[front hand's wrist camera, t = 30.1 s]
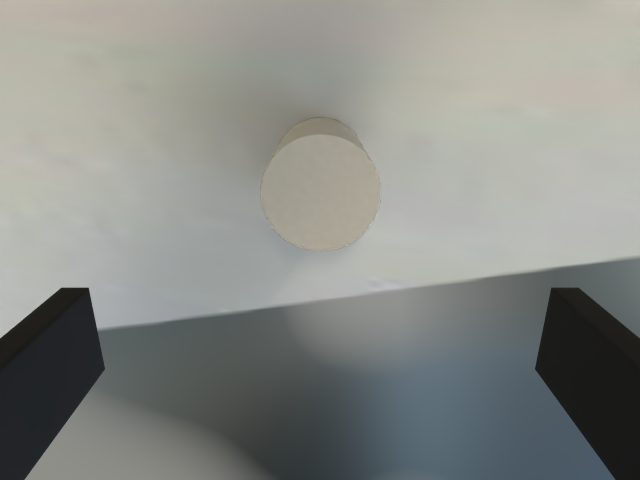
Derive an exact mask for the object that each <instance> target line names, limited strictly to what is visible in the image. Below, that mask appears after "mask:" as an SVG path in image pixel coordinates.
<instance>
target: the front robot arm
mask: <svg viewBox="0 0 640 480" xmlns="http://www.w3.org/2000/svg"><path fill="white" fill-rule="evenodd" d="M104 369H105V367H104V362H103V357H102V352H101V347H100V342H99V337H98V332H97V327H96V322H95V317H94V312H93V307H92V302H91V297H90V292H89V288H61V289H59V290H58V291H57V292H56V293H55V294H53V295H52V296H51V297H50V298H49V299H47V300H46V301H45V302H44V303H43V304H41V305H40V306H39V307H38V308H37V309H35V310H34V311H33V312H32V313H30V314H29V315H28V316H27V317H26V318H24V319H23V320H22V321H21V322H20V323H18V324H17V325H16V326H15V327H14V328H12V329H11V330H10V331H9V332H8V333H6V334H5V335H4V336H3V337H1V338H0V480H24V479H25V478H26V477H27V475H28V474H29V473H30V471H31V470H32V468H33V467H34V466H35V464H36V463H37V462H38V460H39V459H40V458H41V456H42V455H43V453H44V452H45V451H46V449H47V448H48V447H49V445H50V444H51V442H52V441H53V440H54V438H55V437H56V436H57V434H58V433H59V431H60V430H61V429H62V427H63V426H64V425H65V423H66V422H67V420H68V419H69V418H70V416H71V415H72V414H73V412H74V411H75V409H76V408H77V407H78V405H79V404H80V403H81V401H82V400H83V398H84V397H85V396H86V394H87V393H88V392H89V390H90V389H91V387H92V386H93V385H94V383H95V382H96V381H97V379H98V378H99V376H100V375H101V374H102V372H103V371H104ZM535 370H536V371H537V372H538V374H539V375H540V376H541V378H542V379H543V381H544V382H545V383H546V385H547V386H548V387H549V389H550V390H551V392H552V393H553V394H554V396H555V397H556V398H557V400H558V401H559V403H560V404H561V405H562V407H563V408H564V409H565V411H566V412H567V414H568V415H569V416H570V418H571V419H572V420H573V422H574V423H575V425H576V426H577V427H578V429H579V430H580V431H581V433H582V434H583V436H584V437H585V438H586V440H587V441H588V442H589V444H590V445H591V447H592V448H593V449H594V451H595V452H596V453H597V455H598V456H599V457H600V459H601V460H602V462H603V463H604V464H605V466H606V467H607V468H608V470H609V471H610V473H611V474H612V475H613V477H614V478H615V479H616V480H640V338H639V337H637V336H636V335H635V334H634V333H632V332H631V331H630V330H629V329H628V328H626V327H625V326H624V325H623V324H622V323H620V322H619V321H618V320H617V319H615V318H614V317H613V316H612V315H611V314H610V313H608V312H607V311H606V310H605V309H603V308H602V307H601V306H600V305H599V304H597V303H596V302H595V301H594V300H593V299H591V298H590V297H589V296H588V295H587V294H585V293H584V292H583V291H582V290H581V289H579V288H551V292H550V297H549V302H548V307H547V312H546V317H545V322H544V327H543V332H542V337H541V342H540V347H539V352H538V357H537V362H536V367H535Z"/></svg>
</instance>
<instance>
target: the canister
mask: <svg viewBox="0 0 640 480" xmlns="http://www.w3.org/2000/svg"><path fill="white" fill-rule="evenodd" d="M380 200H381V185H380V179H379V176H378V173H377V170H376V168H375V166H374V164H373V162H372V161H371V159H370V157H369V156H368V154H367V152H366V150H365V149H364V147H363V145H362V144H361V142H360V140H359V139H358V137H357V136H356V135H355V133H354V132H353V131H352V130H351V129H350V128H349V127H347V126H346V125H344V124H343V123H341V122H339V121H336V120H333V119H329V118H312V119H308V120H305V121H302V122H301V123H299V124H297V125H295V126H294V127H293V128H291V129H290V130H289V131H288V132H287V134H286V135H285V136H284V137H283V139H282V141H281V142H280V144H279V146H278V148H277V149H276V151H275V153H274V155H273V156H272V158H271V160H270V162H269V163H268V165H267V167H266V169H265V172H264V174H263V178H262V182H261V204H262V207H263V211H264V214H265V216H266V218H267V220H268V222H269V223H270V225H271V226H272V228H273V229H274V230H275V231H276V232H277V233H278V234H279V235H280V236H281V237H282V238H283V239H285V240H286V241H288V242H289V243H291V244H293V245H295V246H297V247H299V248H303V249H306V250H312V251H330V250H335V249H339V248H342V247H344V246H347V245H349V244H351V243H352V242H354V241H355V240H357V239H358V238H359V237H361V236H362V235H363V234H364V233H365V232H366V231H367V230H368V228H369V227H370V226H371V224H372V223H373V221H374V219H375V217H376V215H377V212H378V210H379V206H380Z"/></svg>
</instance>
